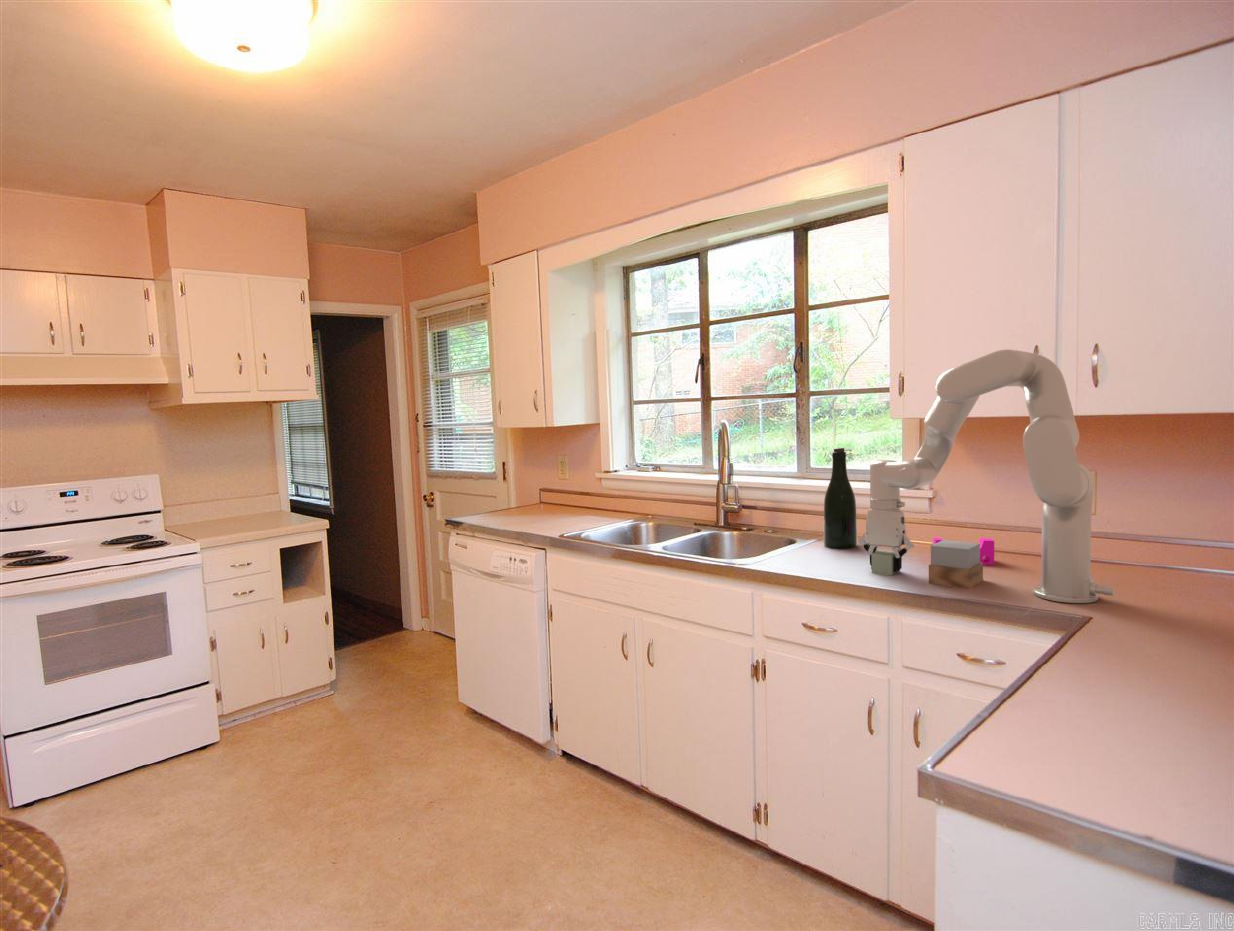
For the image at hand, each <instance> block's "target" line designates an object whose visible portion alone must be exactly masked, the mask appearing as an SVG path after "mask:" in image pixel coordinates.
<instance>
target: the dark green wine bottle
mask: <svg viewBox="0 0 1234 931" xmlns="http://www.w3.org/2000/svg"><path fill="white" fill-rule="evenodd" d="M831 458H832V466H831V467H832V468H831V476H830V480H829V483H828V485H827V489H826V492H825V494H824V502H823V503H824V504H823V546H824V547H825V548H829V549H833V550H849V549H851V550H852V549H854V548H857V547H858V521H857V520H858V519H857V515H858V514H857V503H856V502H857V501H856V496H855V491H854V490H853V487H852V485H851V483H850V480H849V477H848V471H847V470H848V469H847V452H846V451H845V448H844V447H834V448H833V451H832V452H831Z"/></svg>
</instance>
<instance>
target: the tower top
mask: <svg viewBox="0 0 1234 931" xmlns="http://www.w3.org/2000/svg"><path fill="white" fill-rule="evenodd" d="M979 563H980V544H979V542H978V543H976V542H968V541H965V542H964V541H959V540H957V541H956V540H948V539H947V540H945V539H943V540H942V541H940V542H938V543H935V544H931V545H930V564H931V565H937V566H945V567H953V568H961V569H970V568H972V567H974V566H975V565H977V564H979Z"/></svg>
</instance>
